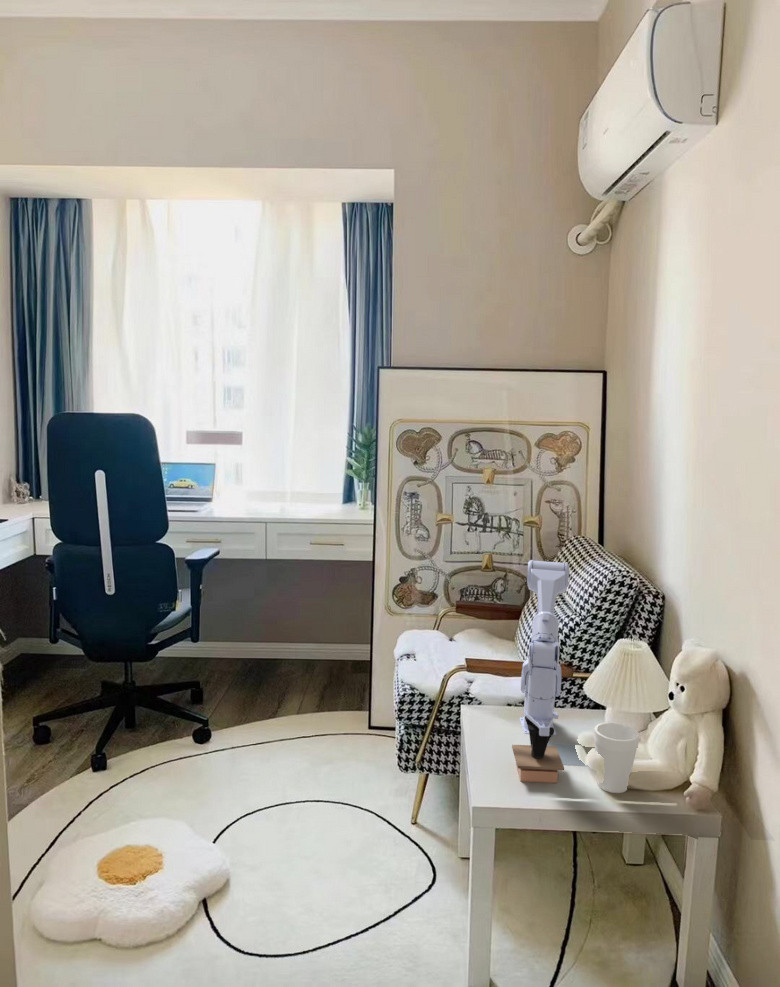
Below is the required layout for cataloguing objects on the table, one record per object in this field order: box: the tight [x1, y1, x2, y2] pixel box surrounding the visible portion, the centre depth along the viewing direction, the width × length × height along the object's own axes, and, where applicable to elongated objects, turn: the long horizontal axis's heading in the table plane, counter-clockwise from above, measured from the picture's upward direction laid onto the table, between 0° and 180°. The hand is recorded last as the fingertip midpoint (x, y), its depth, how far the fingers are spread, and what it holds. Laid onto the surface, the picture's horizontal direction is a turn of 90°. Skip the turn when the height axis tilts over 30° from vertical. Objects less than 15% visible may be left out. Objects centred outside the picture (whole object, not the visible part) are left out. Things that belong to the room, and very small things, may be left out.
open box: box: [515, 762, 559, 784], centre depth 183 cm, size 8×8×3 cm
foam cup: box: [593, 721, 640, 794], centre depth 178 cm, size 10×9×13 cm
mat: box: [547, 742, 586, 767], centre depth 193 cm, size 11×11×1 cm
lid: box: [511, 744, 565, 771], centre depth 183 cm, size 10×10×5 cm
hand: (537, 752), depth 183 cm, fingers closed on lid, 3 cm apart
